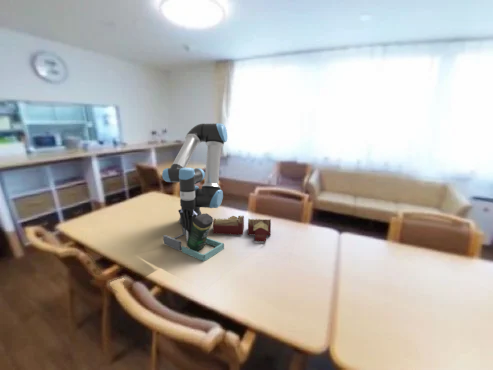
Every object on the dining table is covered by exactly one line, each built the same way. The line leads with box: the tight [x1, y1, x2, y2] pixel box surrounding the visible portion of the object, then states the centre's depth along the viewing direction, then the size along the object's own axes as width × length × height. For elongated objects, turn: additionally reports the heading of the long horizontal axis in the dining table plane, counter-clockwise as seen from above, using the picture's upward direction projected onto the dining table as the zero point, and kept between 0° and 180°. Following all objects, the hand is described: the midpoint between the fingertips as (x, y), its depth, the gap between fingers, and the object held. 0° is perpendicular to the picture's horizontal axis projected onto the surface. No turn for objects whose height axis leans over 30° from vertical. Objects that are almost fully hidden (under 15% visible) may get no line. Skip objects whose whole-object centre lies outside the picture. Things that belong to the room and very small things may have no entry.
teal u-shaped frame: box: [181, 237, 225, 262], centre depth 121 cm, size 15×16×3 cm
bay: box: [162, 226, 186, 252], centre depth 129 cm, size 14×13×10 cm
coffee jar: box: [186, 213, 214, 252], centre depth 120 cm, size 10×8×19 cm
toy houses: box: [212, 215, 272, 242], centre depth 140 cm, size 45×20×10 cm, turn 86°
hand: (189, 241), depth 125 cm, fingers closed
